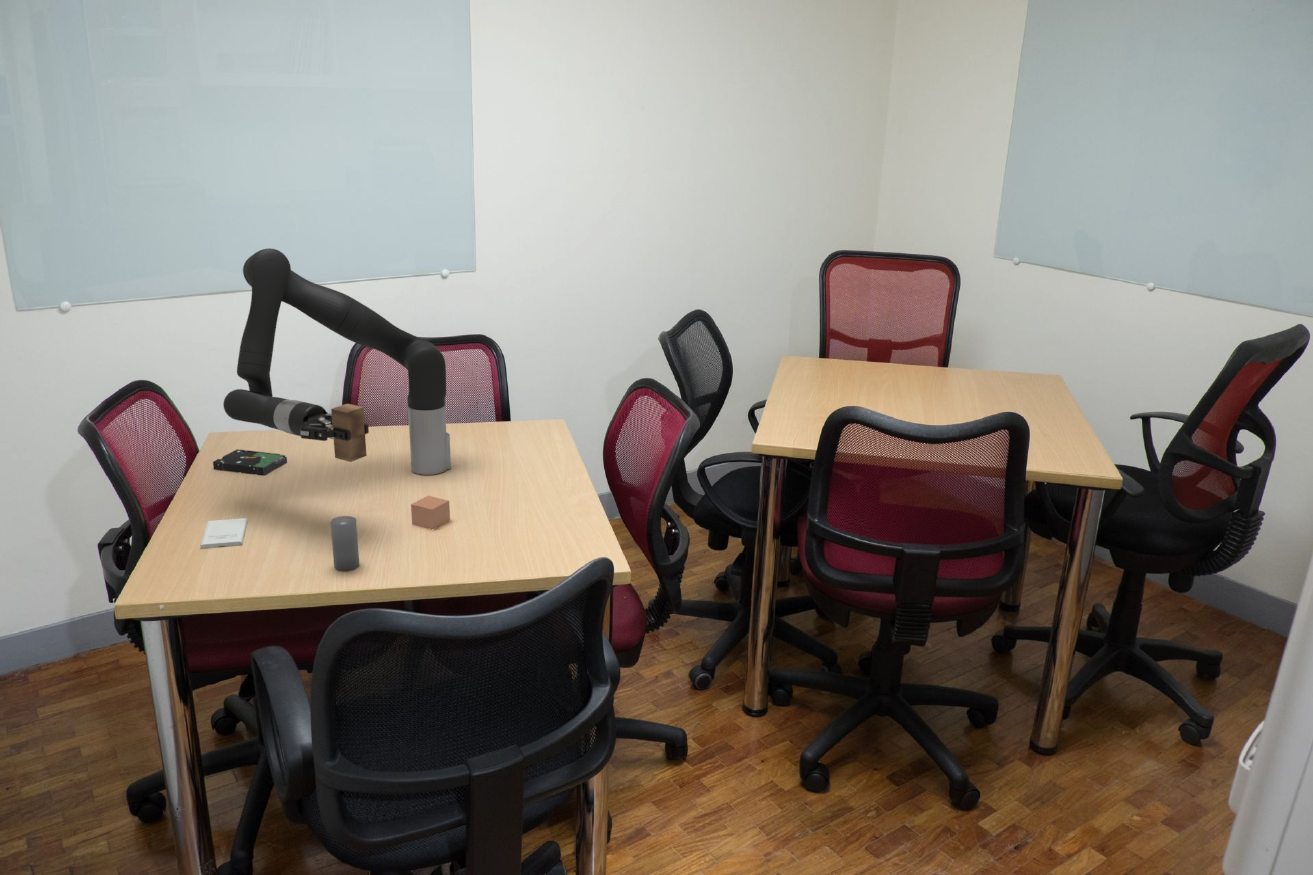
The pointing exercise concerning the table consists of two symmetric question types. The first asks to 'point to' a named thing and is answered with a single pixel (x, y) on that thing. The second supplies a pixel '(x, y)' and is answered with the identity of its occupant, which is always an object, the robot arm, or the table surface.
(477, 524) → the table surface
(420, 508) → the terracotta block
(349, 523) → the charcoal cylinder
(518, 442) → the table surface
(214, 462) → the disk drive
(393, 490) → the table surface
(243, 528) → the external hard drive
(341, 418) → the walnut column
